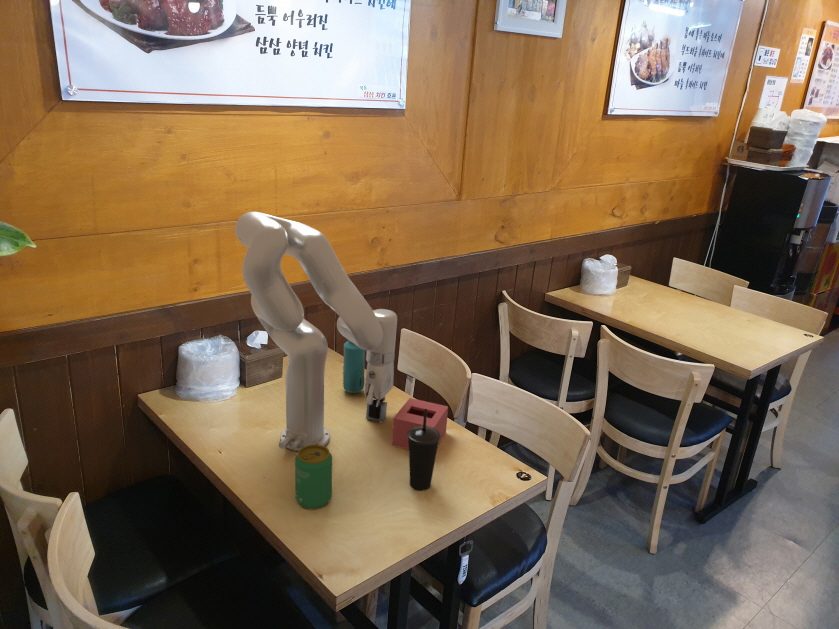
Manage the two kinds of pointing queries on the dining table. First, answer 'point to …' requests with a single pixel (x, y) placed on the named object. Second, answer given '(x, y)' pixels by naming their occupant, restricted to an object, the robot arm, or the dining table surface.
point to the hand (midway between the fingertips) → (375, 415)
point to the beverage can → (313, 476)
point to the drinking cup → (422, 454)
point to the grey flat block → (382, 411)
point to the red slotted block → (418, 420)
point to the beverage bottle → (353, 368)
